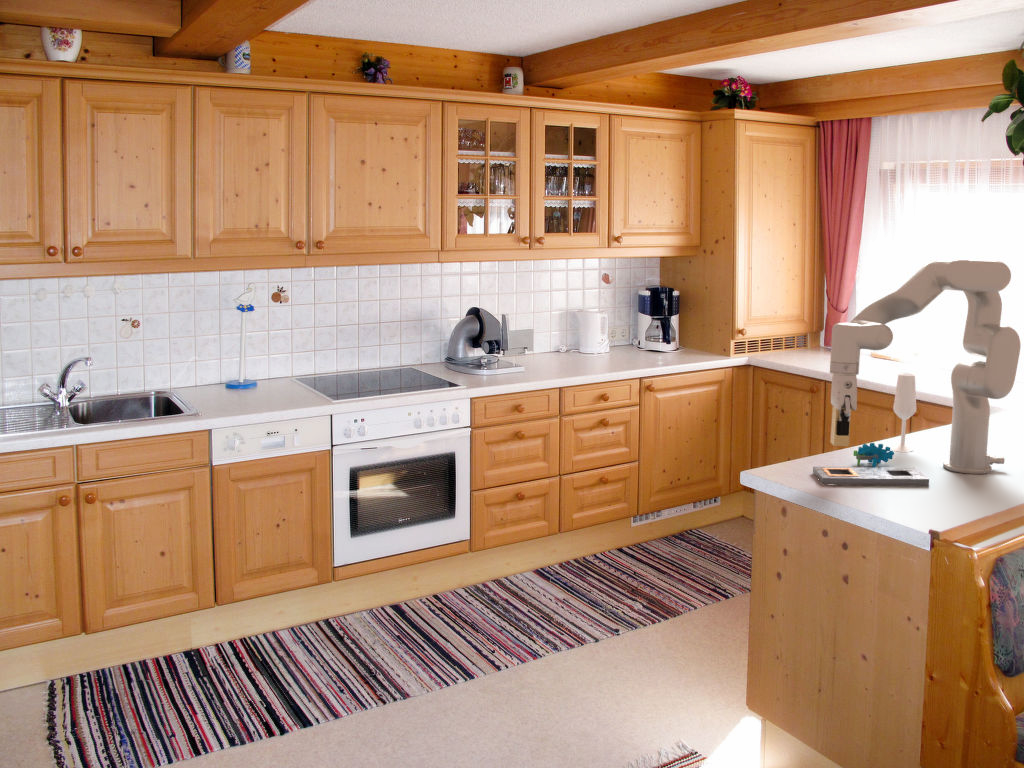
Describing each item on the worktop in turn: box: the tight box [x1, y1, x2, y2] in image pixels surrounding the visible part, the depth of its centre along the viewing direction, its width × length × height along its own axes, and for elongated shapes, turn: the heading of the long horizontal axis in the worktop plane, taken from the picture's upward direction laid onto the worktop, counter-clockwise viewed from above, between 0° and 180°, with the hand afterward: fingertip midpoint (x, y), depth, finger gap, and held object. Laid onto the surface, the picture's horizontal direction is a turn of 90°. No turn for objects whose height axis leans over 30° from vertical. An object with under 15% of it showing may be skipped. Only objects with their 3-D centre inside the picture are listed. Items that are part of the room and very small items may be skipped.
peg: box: [830, 403, 852, 447], centre depth 255 cm, size 4×4×12 cm
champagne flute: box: [890, 372, 917, 453], centre depth 289 cm, size 7×7×24 cm
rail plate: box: [812, 466, 930, 487], centre depth 257 cm, size 28×12×2 cm, turn 84°
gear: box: [853, 442, 895, 467], centre depth 271 cm, size 11×6×10 cm
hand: (840, 432), depth 256 cm, fingers closed on peg, 3 cm apart
